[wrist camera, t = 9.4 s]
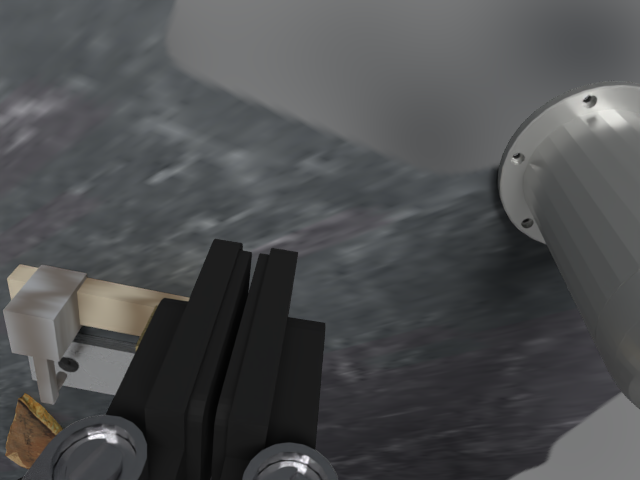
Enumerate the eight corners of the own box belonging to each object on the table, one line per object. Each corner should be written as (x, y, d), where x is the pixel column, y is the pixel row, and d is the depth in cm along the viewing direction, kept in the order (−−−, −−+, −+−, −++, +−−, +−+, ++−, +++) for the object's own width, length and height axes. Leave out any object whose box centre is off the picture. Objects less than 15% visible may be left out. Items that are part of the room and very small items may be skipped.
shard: (27, 385, 57) (16, 401, 56) (108, 414, 59) (100, 431, 57) (9, 445, 64) (-1, 461, 63) (83, 469, 66) (75, 486, 64)
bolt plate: (272, 370, 52) (270, 380, 51) (263, 412, 56) (261, 423, 55) (30, 323, 51) (22, 333, 50) (38, 370, 55) (32, 380, 54)
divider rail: (284, 312, 47) (275, 362, 42) (267, 395, 54) (256, 447, 49) (18, 259, 46) (-23, 305, 41) (35, 351, 53) (1, 399, 48)
